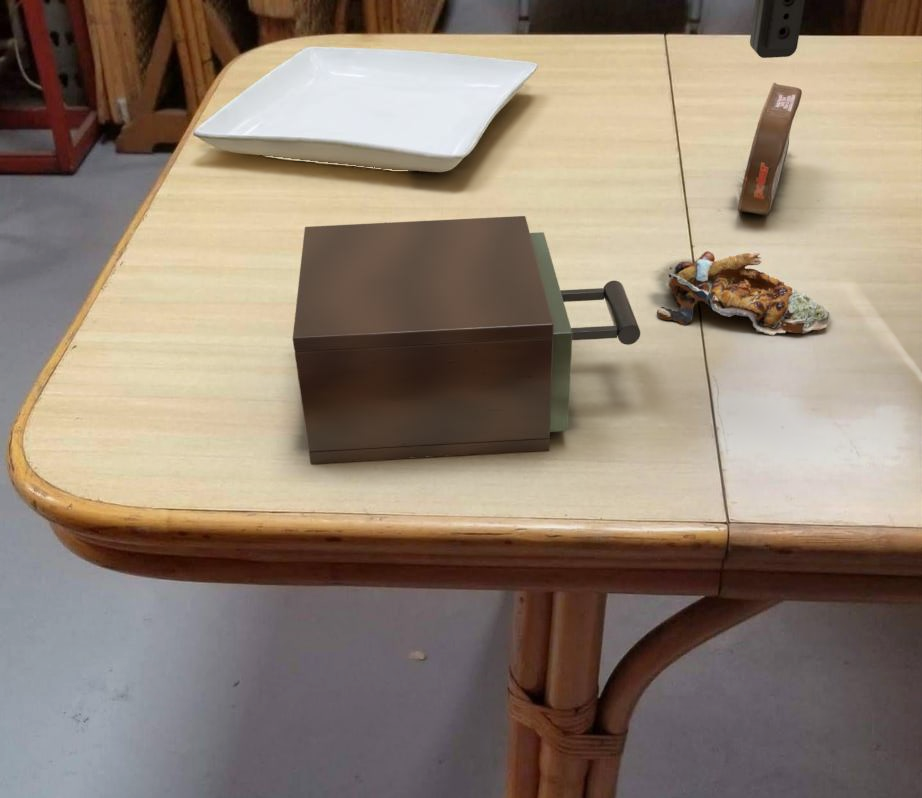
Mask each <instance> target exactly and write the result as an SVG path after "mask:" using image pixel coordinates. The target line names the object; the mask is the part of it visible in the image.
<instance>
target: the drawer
mask: <svg viewBox="0 0 922 798" xmlns="http://www.w3.org/2000/svg"><path fill="white" fill-rule="evenodd" d="M530 236H531V240H532V243H533V247H534V251H535V255H536V259H537V263H538V266H539V270H540V274H541V278H542V282H543V286H544V290H545V293H546V297H547V301H548V305H549V309H550V313H551V316H552V320H553V324H554V331H553V358H552V385H551V412H550V433H556V432H557V433H559V432H567V431H569V430H568V429H569V413H570V411H569V410H570V393H571V390H570V389H571V374H572V373H571V371H572V369H571V368H572V352H573V351H572V348H573V341H585V340H606V339H618V341H619V342H620V343H621V344H623V345H626V346H629V345H633V344H635V343H637V342H638V341H639V339H640V337H641V330H640V326H639V324H638V322H637V319H636V316H635V313H634V311H633V308H632V306H631V303H630V300H629V297H628V295H627V292H626V290H625V288H624V284H623V283H622V282H620V281H619V280H610V281H608V282H606V284H605V285H603V287H599V288H598V287H596V288H578V289H577V288H576V289H561V288H560V284H559V280H558V277H557V275H556V274H557V273H556V269H555V266H554V263H553V260H552V256H551V253H550V249H549V245H548V242H547V239H546V235H545V232H543V231H540V232H539V231H538V232H530ZM590 301H604V302H605V304H606V307H607V310H608V313H609V315H610V318H611V321H612V324H613V325H602V326H601V325H600V326H583V327H582V326H581V327H571V324H570V320H569V316H568V313H567V309H566V305H565V303H569V302H590Z"/></svg>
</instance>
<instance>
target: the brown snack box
mask: <svg viewBox="0 0 922 798" xmlns="http://www.w3.org/2000/svg"><path fill="white" fill-rule="evenodd" d="M802 94H803V90H802V89H801V88H799V87H795V86H789V85H785V84H779V83H778V84H777V83H776V82H773V83H772V85H771V87H770V90H769V93H768V95H767V98H766V100H765V103H764V105H763V107H762V109H761V111H760V112H761V113H760V116H759V119H758V121H757V125H756V129H755V133H754V136H753V140H752V144H751V148H750V151H749V156H748V159H747V165H746V169H745V172H744V177H743V181H742V186H741V190H740V191H741V192H740V196H739V200H738V204H737V205H738V206H737V212H738V213H741V212H744V213H750V214H755V215H761V216H765V215H769V213H770V211H771V209H772V206H773V203H774V200H775V197H776V196H777V195H776V194H777V191H778V188H779V185H780V180H781V177H782V173H783V169H784V166H785V162H786V158H787V155H788V150H789V145H790V135H791V130H792V126H793V122H794V121H793V120H794V118H795V117H796V113H797V110H798V108H799V105H800V102H801V98H802Z"/></svg>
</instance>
